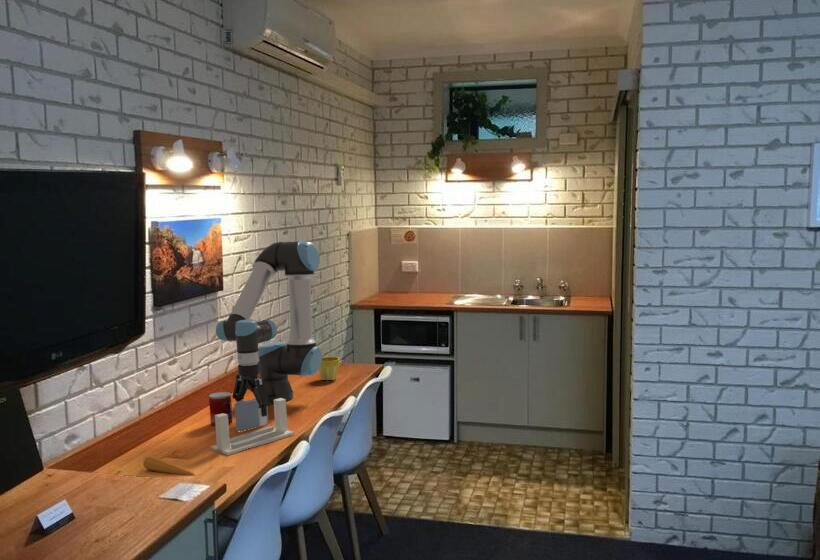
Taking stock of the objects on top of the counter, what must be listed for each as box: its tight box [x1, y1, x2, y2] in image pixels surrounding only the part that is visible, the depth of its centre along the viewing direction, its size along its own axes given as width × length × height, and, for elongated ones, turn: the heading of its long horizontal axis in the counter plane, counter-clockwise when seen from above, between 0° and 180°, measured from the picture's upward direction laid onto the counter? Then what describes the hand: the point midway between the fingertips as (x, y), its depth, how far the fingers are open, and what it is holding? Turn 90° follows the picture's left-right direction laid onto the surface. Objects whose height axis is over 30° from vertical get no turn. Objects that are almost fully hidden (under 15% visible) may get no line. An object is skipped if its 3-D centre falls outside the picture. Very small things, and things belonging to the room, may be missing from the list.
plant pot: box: [318, 356, 341, 380], centre depth 328 cm, size 10×10×10 cm
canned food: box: [208, 391, 233, 427], centre depth 265 cm, size 8×8×11 cm
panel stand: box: [211, 398, 295, 456], centre depth 242 cm, size 26×10×12 cm, turn 136°
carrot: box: [143, 455, 195, 476], centre depth 217 cm, size 20×4×4 cm, turn 69°
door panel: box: [233, 398, 270, 433], centre depth 259 cm, size 12×2×10 cm, turn 136°
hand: (252, 421), depth 259 cm, fingers open, 13 cm apart
